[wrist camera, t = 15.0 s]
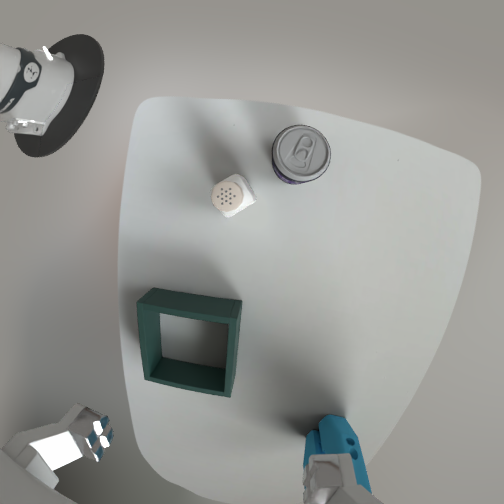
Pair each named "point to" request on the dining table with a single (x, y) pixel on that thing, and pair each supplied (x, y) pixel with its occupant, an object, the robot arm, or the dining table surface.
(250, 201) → the salt shaker
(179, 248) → the dining table surface
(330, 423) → the block
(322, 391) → the dining table surface
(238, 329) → the bin
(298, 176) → the beverage can
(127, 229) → the dining table surface
